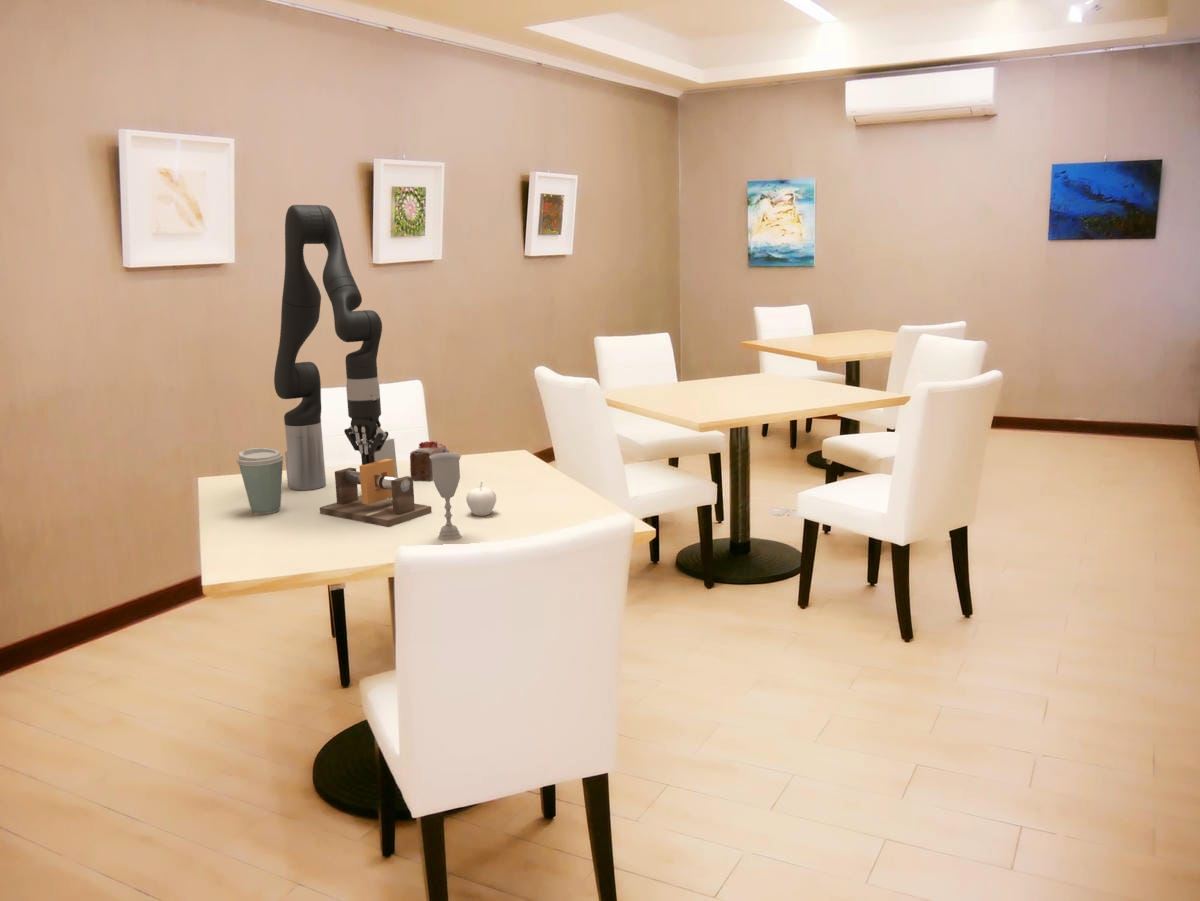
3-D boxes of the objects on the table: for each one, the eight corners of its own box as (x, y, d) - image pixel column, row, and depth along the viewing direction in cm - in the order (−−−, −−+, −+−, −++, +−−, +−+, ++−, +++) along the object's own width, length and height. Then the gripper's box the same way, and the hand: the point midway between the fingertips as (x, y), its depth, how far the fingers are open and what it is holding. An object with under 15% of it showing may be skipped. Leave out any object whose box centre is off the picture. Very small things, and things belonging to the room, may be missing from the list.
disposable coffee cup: (297, 507, 237) (292, 447, 234) (269, 519, 227) (263, 456, 224) (261, 504, 241) (255, 445, 237) (232, 516, 231) (226, 454, 228)
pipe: (338, 483, 234) (337, 470, 233) (348, 480, 236) (347, 467, 236) (400, 493, 222) (400, 480, 222) (410, 490, 225) (410, 477, 224)
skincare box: (400, 495, 247) (396, 438, 244) (377, 499, 244) (373, 441, 241) (388, 489, 254) (384, 433, 251) (365, 492, 250) (361, 436, 247)
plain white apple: (473, 519, 223) (471, 486, 222) (463, 512, 230) (461, 480, 228) (501, 515, 226) (500, 482, 225) (490, 508, 233) (489, 476, 231)
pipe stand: (320, 513, 231) (317, 474, 229) (363, 500, 243) (361, 463, 241) (388, 526, 219) (386, 486, 217) (431, 512, 230) (429, 473, 228)
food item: (425, 470, 276) (423, 436, 274) (452, 470, 275) (450, 436, 273) (408, 481, 263) (406, 445, 261) (436, 481, 261) (434, 446, 259)
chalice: (435, 532, 213) (430, 453, 210) (466, 531, 214) (462, 452, 210) (432, 542, 206) (427, 460, 203) (464, 541, 207) (460, 459, 203)
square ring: (362, 503, 226) (359, 465, 224) (390, 494, 233) (387, 458, 232) (368, 504, 225) (365, 466, 223) (396, 495, 232) (393, 459, 230)
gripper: (331, 397, 226) (337, 469, 230) (371, 400, 219) (376, 475, 222) (356, 392, 232) (361, 463, 236) (395, 396, 225) (400, 468, 229)
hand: (368, 468), depth 229 cm, fingers closed
